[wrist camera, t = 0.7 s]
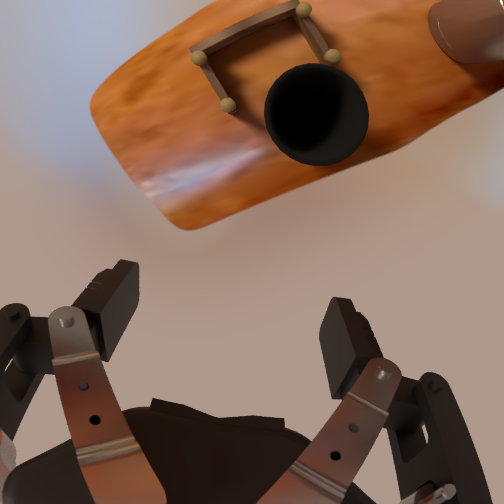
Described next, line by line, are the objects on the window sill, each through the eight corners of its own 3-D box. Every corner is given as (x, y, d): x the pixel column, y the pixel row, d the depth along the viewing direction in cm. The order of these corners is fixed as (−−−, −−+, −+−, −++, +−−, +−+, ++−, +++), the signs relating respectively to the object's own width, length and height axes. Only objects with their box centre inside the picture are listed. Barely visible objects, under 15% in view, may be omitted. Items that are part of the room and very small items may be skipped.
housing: (295, 6, 25) (301, -8, 21) (332, 66, 28) (344, 59, 24) (191, 55, 28) (182, 46, 23) (228, 116, 31) (225, 115, 27)
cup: (307, 70, 28) (336, 47, 17) (342, 128, 31) (385, 137, 20) (246, 103, 30) (243, 94, 19) (283, 161, 33) (299, 184, 22)
